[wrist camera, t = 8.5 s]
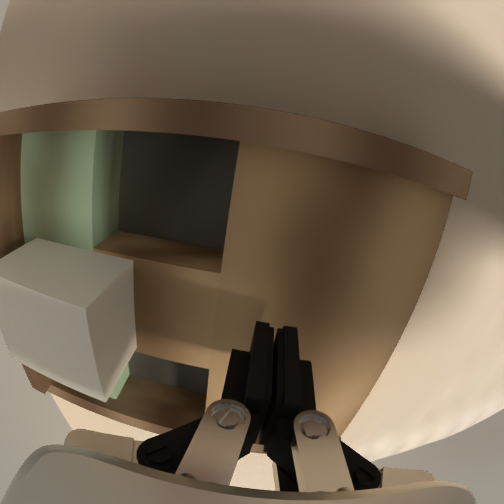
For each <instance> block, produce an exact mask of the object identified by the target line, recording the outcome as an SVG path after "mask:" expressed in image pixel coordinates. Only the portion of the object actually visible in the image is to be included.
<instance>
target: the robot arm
mask: <svg viewBox="0 0 504 504" xmlns="http://www.w3.org/2000/svg"><path fill="white" fill-rule="evenodd" d="M269 326H270V323H266V322H260V321H256V324H255V328H254V333H253V338H252V342H251V347H250V351H249V352H248V351H242V350H237V349H232V351H231V355H230V360H229V365H228V369H227V374H226V378H225V383H224V388H223V392H222V397H221V399H220V400H217V401H214V402H213V403H211V404H210V405H209V407H208V408H207V410H206V412H205V414H204V416H203V417H201V418H199V419H197V420H194V421H192V422H190V423H187V424H185V425H183V426H180V427H178V428H175V429H173V430H170V431H168V432H165V433H163V434H160V435H158V436H155V437H152V438H150V439H147V440H145V441H136V440H134V438H130V437H123V436H117V435H111V434H105V433H100V432H95V431H90V430H86V429H76V430H72V431H71V432H70V433H69V434H68V435H67V437H66V438H65V442H64V445H46V446H43V447H40V448H39V449H37V450H35V451H34V452H33V453H32V454H31V455H30V456H29V457H28V458H27V459H26V461H25V462H24V463H23V465H22V466H21V467H20V469H19V470H18V472H17V473H16V475H15V477H14V478H13V480H12V482H11V484H10V486H9V488H8V489H7V491H6V494H5V495H4V498H3V500H2V502H1V504H477V502H476V500H475V498H474V496H473V494H472V493H471V491H470V490H469V489H468V488H467V487H465V486H463V485H460V484H457V483H452V482H446V481H434V477H433V476H432V474H430V473H429V472H428V471H424V470H412V469H411V470H410V469H398V468H388V467H383V468H382V469H378V468H377V467H376V466H375V465H374V464H372V463H371V462H369V461H368V460H367V459H365V458H364V457H362V456H361V455H360V454H358V453H357V452H356V451H354V450H353V449H351V448H350V447H349V446H347V445H346V444H345V443H343V442H342V441H341V440H340V439H339V438H338V434H337V431H336V428H335V425H334V423H333V421H332V419H331V418H330V417H329V416H328V415H326V414H325V413H323V412H320V411H317V410H316V401H315V391H314V381H313V372H312V364H311V361H308V360H300V356H299V342H298V330H297V327H291V326H283V328H282V329H281V328H278V329H277V333H276V336H275V340H274V327H269ZM259 432H260V435H259ZM258 435H259V445H264V447H263V452H266V453H267V456H268V457H269V458H270V459H271V460H272V461H273V464H272V467H273V475H274V482H275V490H276V491H270V490H259V489H250V488H242V487H234V486H229V484H230V481H231V479H232V476H233V473H234V470H235V467H236V464H237V461H238V460H239V459H240V458H242V457H244V456H246V455H247V454H249V453H250V451H251V448H252V445H253V444H255V442H256V440H257V437H258Z"/></svg>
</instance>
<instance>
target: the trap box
mask: <svg viewBox="0 0 504 504" xmlns="http://www.w3.org/2000/svg"><path fill="white" fill-rule="evenodd" d="M471 177H472V171H470V170H468V169H466V168H463V167H461V166H459V165H457V164H455V163H452V162H450V161H448V160H445V159H443V158H440V157H438V156H436V155H433V154H431V153H428V152H425V151H423V150H420V149H418V148H415V147H412V146H409V145H407V144H404V143H401V142H398V141H395V140H392V139H389V138H386V137H383V136H380V135H376V134H373V133H370V132H367V131H363V130H360V129H356V128H352V127H349V126H345V125H341V124H337V123H333V122H329V121H325V120H321V119H317V118H312V117H308V116H303V115H298V114H293V113H288V112H282V111H277V110H271V109H265V108H259V107H252V106H245V105H237V104H229V103H220V102H210V101H198V100H183V99H160V98H117V99H95V100H81V101H70V102H60V103H52V104H44V105H37V106H31V107H25V108H19V109H14V110H9V111H4V112H0V259H1V258H3V257H4V256H6V255H8V254H9V253H11V252H13V251H14V250H16V249H18V248H20V247H21V246H23V245H25V244H26V243H28V242H30V241H32V240H34V239H35V238H40V239H44V240H48V241H52V242H56V243H60V244H64V245H68V246H73V247H77V248H81V249H85V250H90V251H94V252H98V253H102V254H107V255H111V256H116V257H120V258H125V259H129V260H133V281H134V312H135V329H136V343H137V348H136V350H135V352H134V353H133V355H132V357H131V359H130V360H129V362H128V364H127V366H126V367H125V369H124V371H123V373H122V374H121V376H120V378H119V380H118V382H117V383H116V385H115V387H114V389H113V391H112V392H111V394H110V396H109V398H108V400H107V402H103V401H101V400H98V399H96V398H93V397H91V396H88V395H86V394H83V393H81V392H79V391H76V390H74V389H72V388H70V387H67V386H65V385H63V384H61V383H59V382H57V381H55V380H53V379H51V378H49V377H47V376H45V375H43V374H41V373H39V372H37V371H35V370H33V369H31V368H29V367H28V366H26V365H24V364H22V365H23V367H24V370H25V372H26V374H27V376H28V378H29V380H30V383H31V385H32V387H33V388H35V389H37V390H38V391H40V392H42V393H44V394H45V393H46V391H48V392H50V393H52V394H54V395H56V396H58V397H61V398H63V399H65V400H67V401H69V402H71V403H73V404H76V405H78V406H80V407H83V408H85V409H87V410H90V411H92V412H95V413H97V414H100V415H102V416H105V417H108V418H110V419H113V420H116V421H119V422H121V423H124V424H127V425H130V426H133V427H137V428H140V429H143V430H146V431H150V432H153V433H157V434H163V433H165V432H168V431H170V430H173V429H175V428H178V427H180V426H183V425H185V424H187V423H190V422H192V421H194V420H197V419H199V418H201V417H203V416H204V414H205V412H206V410H207V408H208V407H209V405H210V404H211V403H213V402H214V401H217V400H220V399H221V397H222V392H223V388H224V383H225V378H226V374H227V369H228V365H229V360H230V355H231V351H232V349H237V350H242V351H248V352H249V351H250V347H251V342H252V338H253V333H254V328H255V324H256V321H260V322H266V323H270V326H269V327H274V340H275V336H276V333H277V329H278V328H281V329H282V328H283V326H291V327H297V330H298V342H299V356H300V360H308V361H311V364H312V372H313V381H314V391H315V401H316V410H317V411H320V412H323V413H325V414H326V415H328V416H329V417H330V418H331V419H332V421H333V423H334V425H335V428H336V431H337V434H338V438H339V439H340V440H341V437H340V436H341V435H342V434H343V432H344V431H345V429H346V428H347V427H348V425H349V424H350V422H351V421H352V419H353V418H354V416H355V415H356V413H357V412H358V410H359V409H360V407H361V406H362V404H363V403H364V401H365V400H366V398H367V396H368V395H369V393H370V392H371V390H372V388H373V387H374V385H375V383H376V382H377V380H378V378H379V377H380V375H381V373H382V371H383V370H384V368H385V366H386V364H387V362H388V361H389V359H390V357H391V355H392V353H393V351H394V349H395V347H396V345H397V343H398V342H399V340H400V338H401V336H402V333H403V331H404V329H405V327H406V325H407V323H408V321H409V319H410V317H411V314H412V312H413V310H414V308H415V305H416V303H417V301H418V299H419V296H420V294H421V291H422V289H423V286H424V284H425V281H426V279H427V276H428V274H429V271H430V268H431V266H432V263H433V260H434V257H435V254H436V252H437V249H438V246H439V243H440V240H441V236H442V233H443V230H444V227H445V223H446V220H447V216H448V213H449V209H450V205H451V202H452V198H453V195H454V196H456V197H459V198H461V199H464V200H466V198H467V194H468V190H469V186H470V181H471ZM259 435H260V432H259ZM259 435H258V437H257V440H256V442H255V444H253V445H252V448H251V451H250V452H254V453H264V454H267V453H266V452H263V447H264V445H259Z"/></svg>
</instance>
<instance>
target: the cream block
mask: <svg viewBox="0 0 504 504" xmlns="http://www.w3.org/2000/svg"><path fill="white" fill-rule="evenodd" d="M0 328H1V331H2V334H3V337H4V339H5V342H6V345H7V347H8V349H9V352H10V355H11V357H12V358H14V359H15V360H17V361H19V362H21V363H22V364H24V365H26V366H28V367H29V368H31V369H33V370H35V371H37V372H39V373H41V374H43V375H45V376H47V377H49V378H51V379H53V380H55V381H57V382H59V383H61V384H63V385H65V386H67V387H70V388H72V389H74V390H76V391H79V392H81V393H83V394H86V395H88V396H91V397H93V398H96V399H98V400H101V401H103V402H107V400H108V398H109V396H110V394H111V392H112V391H113V389H114V387H115V385H116V383H117V382H118V380H119V378H120V376H121V374H122V373H123V371H124V369H125V367H126V366H127V364H128V362H129V360H130V359H131V357H132V355H133V353H134V352H135V350H136V348H137V343H136V329H135V312H134V281H133V260H129V259H125V258H120V257H116V256H111V255H107V254H102V253H98V252H94V251H90V250H85V249H81V248H77V247H73V246H68V245H64V244H60V243H56V242H52V241H48V240H44V239H40V238H35V239H34V240H32V241H30V242H28V243H26V244H25V245H23V246H21V247H20V248H18V249H16V250H14V251H13V252H11V253H9V254H8V255H6V256H4V257H3V258H1V259H0Z"/></svg>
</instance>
